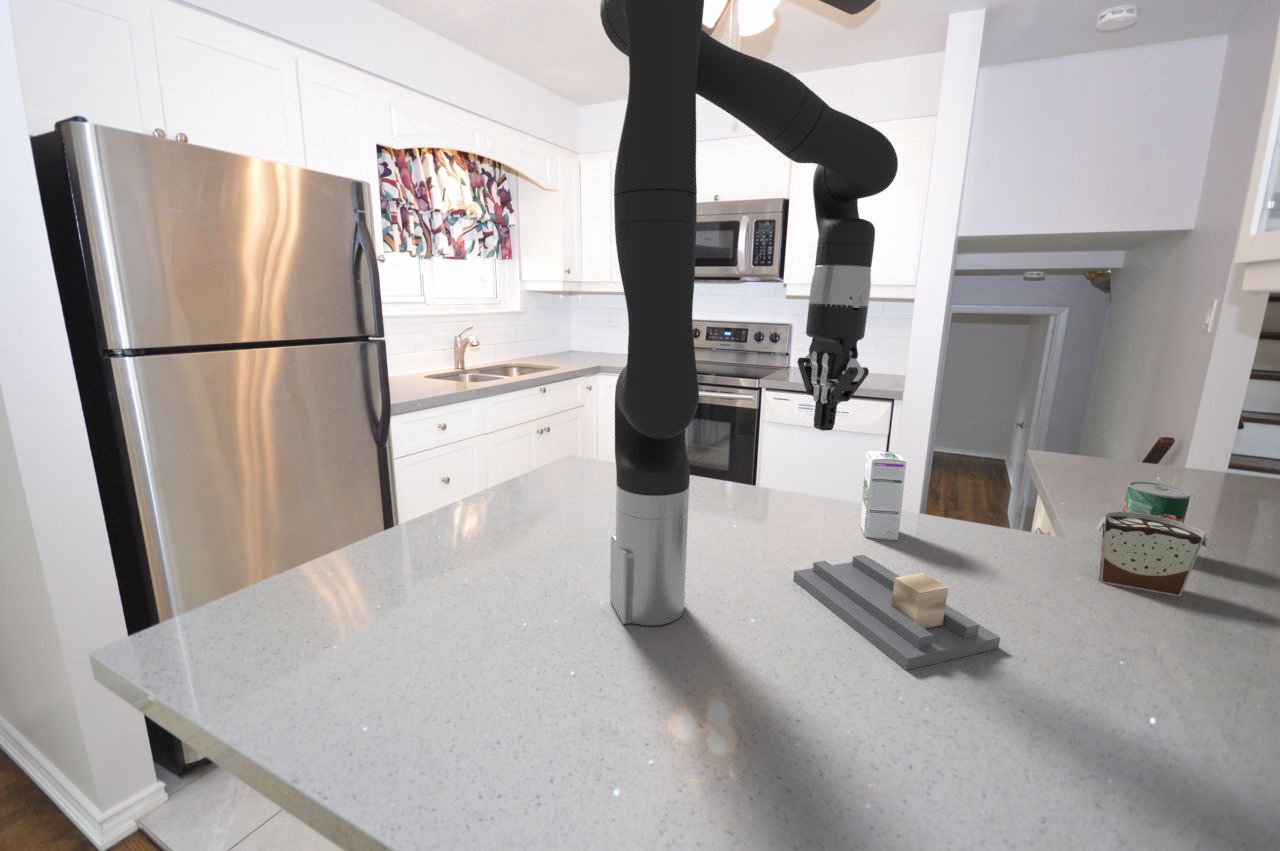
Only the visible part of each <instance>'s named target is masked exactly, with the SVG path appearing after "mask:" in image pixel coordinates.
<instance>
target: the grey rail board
mask: <svg viewBox="0 0 1280 851" xmlns="http://www.w3.org/2000/svg"><path fill="white" fill-rule="evenodd" d="M895 577H901V576H900V575H898V574H897V573H895V572H893V571H892V570H891V569H889V568H887V567H886V566H884V565H882V564H880V563H879V562H877V561H876V560H874V559H872V558H870V557H868V556H867V555H865V554H861V555H854V556H852V561H851V562H849V561H848V562H845V563H837V564H831V563H829V562H828V561H826V560H821V561H820V560H819V561H815V562H814V561H813V564H812V567H811V568H806V569H799V570H798V569H797V570H794V571H793V581H794V582H795V583H796V584H797V585H798V586H800V587H801V588H802V589H803V590H805V591H806V592H807V593H808V594H810V595H811V596H812V597H813V598H815V599H816V600H817V601H818V602H820V603H821V605H823V606H824V607H826V608H828V610H829V611H831V612H832V613H833V614H835V615H836V616H837V617H838V618H840V619H841V620H842V621H844V623H846V624H847V625H848V626H849V627H851V628H852V629H854V630H855V631H856V632H857V633H858V634H860V635H861V636H862V637H864V638H865V639H866V640H867V641H868V642H870V643H871V644H873V646H875V647H876V648H877V649H878V650H879V651H881V652H882V653H884V655H886V656H887V657H888V658H890V659H891V660H892V661H893V662H894V663H896V664H897V665H898V666H900V667H901V668H902V669H903V670H905V671H909V670H914V669H918V668H922V667H926V666H927V667H928V666H930V665H934V664H939V663H943V662H947V661H951V660H955V659H960V658H964V657H968V656H969V657H970V656H972V655H977V654H981V653H985V652H989V651H993V650H997V649H999V648H1000V641H1001V637H1000V636H999V635H997V634H996V633H995V632H992V631H991V630H989V629H987V628H986V627H984V626H982V625H981V624H979V622H976V621H974V620H973V619H971V618H969V617H968V616H966V615H965V614H962V613H961V612H959V611H958V610H956V609H955V608H953V607H951V606H949V605H948V604H946V606H945V613H944V619H943V625H939V626H935V627H930V628H925V629H924V628H923V627H921V626H920V625H918V624H917V623H915V622H914V621H913V620H911V619H910V618H908V617H907V616H905V615H904V614H902V613H901V612H899V611H898V610H896V609H895V608H894V607H892V606H891V605H892V597H893V589H894V581H895Z"/></svg>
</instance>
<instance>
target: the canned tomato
mask: <svg viewBox="0 0 1280 851" xmlns="http://www.w3.org/2000/svg"><path fill="white" fill-rule="evenodd" d="M1191 497H1192V494H1191V493H1190V492H1189V491H1188V490H1185V489H1182V488H1180V487H1177V486H1176V487H1175V486H1172V485H1168V484H1163V483H1159V482H1157V483H1156V482H1152V481H1151V482H1149V481H1131V482H1129V483H1128V487H1127V491H1126V497H1125V501H1124V505H1123V510H1122V512H1134V513H1142V514H1149V515H1154V516H1159V517H1164V518H1168V519H1172V520H1175V521H1179V522H1182V523H1185V519H1186V515H1187V512H1188V507H1189V503H1190V498H1191Z"/></svg>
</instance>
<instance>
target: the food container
mask: <svg viewBox="0 0 1280 851" xmlns="http://www.w3.org/2000/svg"><path fill="white" fill-rule="evenodd" d="M1101 529H1102V536H1101V537H1102V538H1101V548H1100V551H1101V552H1100V564H1099V577H1098V578H1099V579H1098V580H1099V583H1102V584H1106V585H1107V584H1108V585H1112V586H1118V587H1124V588H1128V589H1129V588H1130V589H1134V590H1140V591H1145V592H1151V593H1156V594H1163V595H1168V596H1174V597H1180V598H1181V597H1182V595H1183V592H1184V589H1185V587H1186V584H1187V582H1188V580H1189V577H1190V575H1191V572H1192V570H1193V568H1194V564H1195V562H1196V560H1197V557H1198V555H1199V552H1200V550H1201V547H1202V546H1203V547H1205V548H1208V538H1207V536H1206V532H1205V531H1204V530H1202V529H1200V528H1198V527H1195V526H1193V525H1190V524H1188V523H1185V522H1184V523H1182V522H1179V521H1175V520H1172V519H1168V518H1164V517H1159V516H1154V515H1149V514H1142V513H1134V512H1123V511H1112V512H1107V513H1105V514H1104V516H1103V517H1102V518H1101V519H1100V521H1099V522H1098V525H1097V531H1098V532H1100V531H1101Z"/></svg>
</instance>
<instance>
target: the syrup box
mask: <svg viewBox="0 0 1280 851" xmlns="http://www.w3.org/2000/svg"><path fill="white" fill-rule="evenodd" d="M866 451H867V452H866V458H865V459H866V460H865V467H864V477H863V490H862V496H861V497H862V498H861V508H860V520H859V527H860V529H861V531H862V534H863V536H864V537H865V538H871V539H878V540H889V541H898V540H899V533H900V532H899V531H900V524H901V518H902V517H901V516H902V510H903V509H902V508H903V497H904V489H905V488H904V486H905V477H906V469H907V460H905V458H904V457H903V456H902V455H901V454H900V453H899V452H893V451H885V450H884V451H881V450H877V451H876V450H875V451H874V450H872V451H868V450H866Z"/></svg>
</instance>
